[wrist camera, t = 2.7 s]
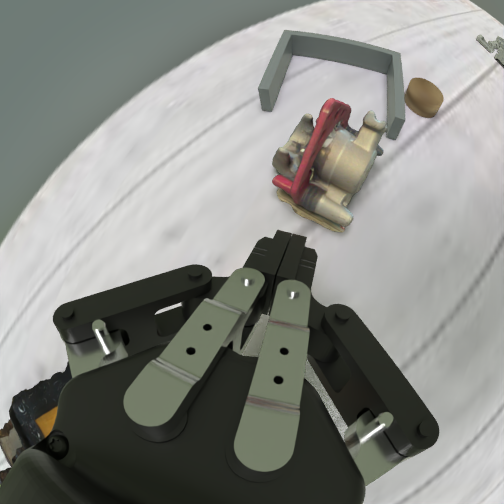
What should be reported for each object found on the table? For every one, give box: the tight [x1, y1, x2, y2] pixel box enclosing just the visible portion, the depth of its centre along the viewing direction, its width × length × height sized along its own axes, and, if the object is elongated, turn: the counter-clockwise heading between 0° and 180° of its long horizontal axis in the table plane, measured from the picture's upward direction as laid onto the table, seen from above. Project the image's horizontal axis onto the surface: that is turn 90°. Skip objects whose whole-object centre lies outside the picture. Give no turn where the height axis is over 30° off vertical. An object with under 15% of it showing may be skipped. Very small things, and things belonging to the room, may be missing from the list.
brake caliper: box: [272, 98, 387, 232], centre depth 24 cm, size 11×11×12 cm
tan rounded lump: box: [404, 78, 443, 118], centre depth 26 cm, size 5×5×3 cm
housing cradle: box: [258, 30, 405, 140], centre depth 28 cm, size 16×14×4 cm
